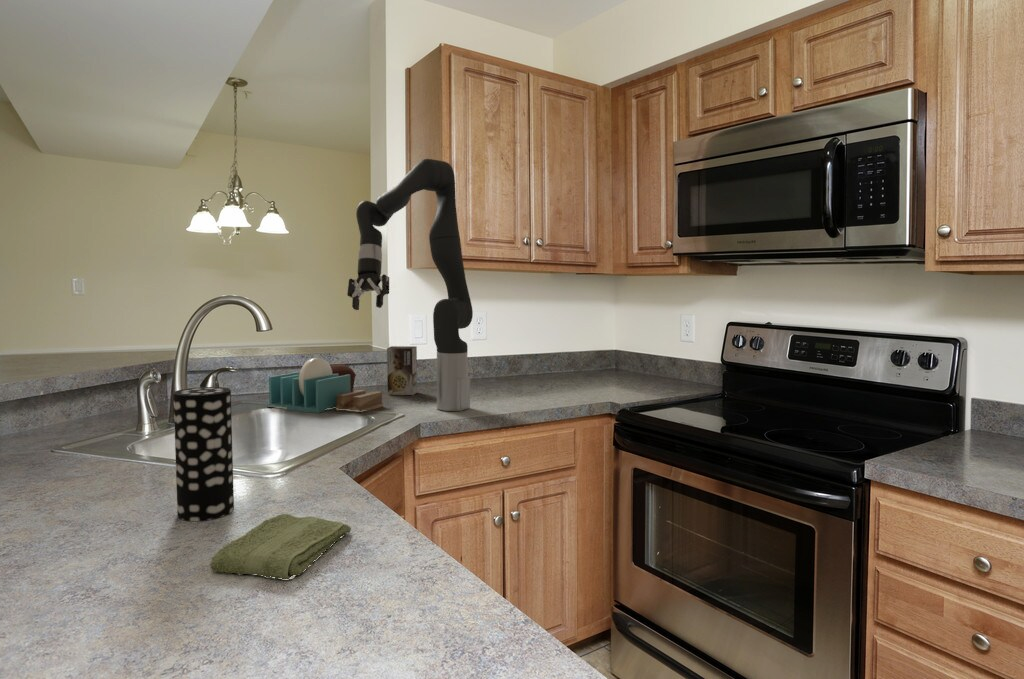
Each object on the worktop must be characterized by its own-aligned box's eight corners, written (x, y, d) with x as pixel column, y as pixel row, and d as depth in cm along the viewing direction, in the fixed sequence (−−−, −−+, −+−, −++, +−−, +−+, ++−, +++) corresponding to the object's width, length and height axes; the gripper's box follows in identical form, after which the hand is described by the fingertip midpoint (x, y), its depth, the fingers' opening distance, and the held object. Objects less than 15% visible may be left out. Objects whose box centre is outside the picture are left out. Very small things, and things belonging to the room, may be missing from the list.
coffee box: (417, 392, 222) (417, 346, 221) (413, 395, 216) (412, 348, 215) (392, 391, 223) (391, 345, 222) (386, 394, 217) (386, 347, 215)
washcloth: (355, 534, 97) (355, 513, 97) (293, 587, 80) (293, 563, 80) (276, 527, 100) (276, 507, 100) (200, 577, 83) (200, 553, 82)
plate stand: (382, 406, 196) (382, 391, 196) (360, 412, 186) (360, 397, 186) (358, 404, 200) (358, 389, 199) (335, 410, 189) (335, 395, 189)
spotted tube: (241, 503, 109) (238, 387, 107) (221, 521, 101) (217, 395, 99) (192, 503, 109) (188, 386, 107) (167, 521, 100) (163, 395, 99)
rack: (352, 403, 200) (352, 374, 199) (318, 412, 185) (317, 381, 184) (303, 398, 207) (303, 370, 207) (267, 407, 193) (266, 377, 192)
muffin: (316, 393, 218) (315, 364, 217) (346, 390, 225) (346, 362, 224) (331, 398, 208) (330, 368, 208) (362, 395, 216) (361, 365, 215)
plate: (330, 401, 200) (334, 360, 201) (301, 400, 188) (306, 356, 189) (325, 401, 200) (329, 359, 202) (296, 399, 189) (301, 356, 190)
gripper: (344, 259, 208) (341, 307, 204) (382, 254, 203) (380, 303, 199) (357, 266, 215) (355, 313, 211) (395, 261, 210) (392, 309, 206)
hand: (367, 308), depth 205 cm, fingers open, 8 cm apart
